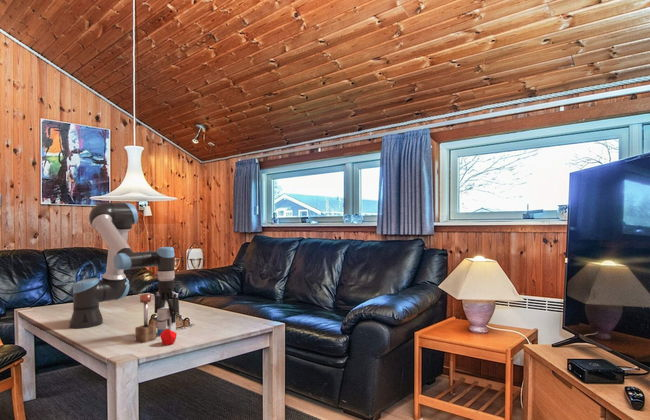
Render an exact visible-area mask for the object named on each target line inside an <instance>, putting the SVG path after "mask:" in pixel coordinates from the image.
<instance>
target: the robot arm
mask: <svg viewBox="0 0 650 420" xmlns="http://www.w3.org/2000/svg"><path fill="white" fill-rule="evenodd" d="M138 216H139V213H138V211H137V208H136V206H135V205H134V204H133V203H129V202H100V203H98V204H95V206H93V207H92V209H91V210H90V211H89V214H88V221H89V224H90V226H91V227H92V228H93V229H94V230H96V231H97V232H98V233H99V234H100V236H101V238H102V240H103V241H104V242H105V244H106V245H107V246H108V249H107V257H106V258H107V261H106V269H105V272H104V273H103V274H102V276H101V279H99V278H98V277H92V278H85V279H82V280H79V281H76V282H74V283H73V288H72V289H73V290H72V303H73V305H72V314H71V317H70V321H69V328H70V327H71V329H85V328H90V327H96V326H99V325H102V324H104V323H103V322H104V318H103V316H102V312H101V310H100V303H103V302H108V301H110V302H111V301H118V300H121V299H124V298H126V296H127V295H128V293H129V291H130V281H129V279H128V278H127V276H126V274H125V272H124V271H126V270H133V269H141V268H142V269H144V268H150V267H157V280H158V281H157V289H158V291H156V292H154V293H153V297H154V314H157V310H158V309H160V308H163V307H166V306H165V304H166V303H167V306H169V311H170V316H169V330H173V329H175V322H176V323H177V316H178V315H179V314H180V303H179V301H180V300H179V298H180V293H179V292H175V290H174V289H175V287H176V284H175V283H176V282H175V281H176V280H175V278H176V276H175V275H176V273H175V264H176V262H175V256H176V254H175V248H174V247H173V246H161V247H158V248H157V250H146V251H136V252H134V251H133V250H132V248H131V247H130V245H129V244H128V238H129V237H128V236H129V231H131V230H133V226H134V225H135V224H137V222H138V219H139V217H138Z"/></svg>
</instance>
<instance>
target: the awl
mask: <svg viewBox="0 0 650 420" xmlns="http://www.w3.org/2000/svg"><path fill="white" fill-rule="evenodd" d="M151 301H152V294H151V293H144V294H139V302H140V303H142V304H143V325H144V327H148V325H149V323H148V319H149V318H148V317H149V316H148V314H149V312H148V311H149V309H148V306H149V305H148V303H151Z"/></svg>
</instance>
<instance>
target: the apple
mask: <svg viewBox="0 0 650 420" xmlns="http://www.w3.org/2000/svg"><path fill="white" fill-rule="evenodd" d="M177 335H178V333H177V332H176V331H174V332H173V331H171V330H169V329H165V330H164V331H163V332H161V335H159V336H160V339H161V343H162V345H164V346H169V345H174V344H175V342H176V339H177Z"/></svg>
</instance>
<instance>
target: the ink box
mask: <svg viewBox="0 0 650 420" xmlns="http://www.w3.org/2000/svg"><path fill="white" fill-rule="evenodd" d="M156 314H157V315H156V316H157V317H156V322H157V324H156V336H161V332H163V331H164V330H165V329H169V316H170V311H169V306H168V305H167V306H164V307H163V308H160V309H158V310H157V313H156ZM176 328H177V321H176V322H175V329H173V330H171V331H173V332H176V331H177V329H176Z"/></svg>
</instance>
